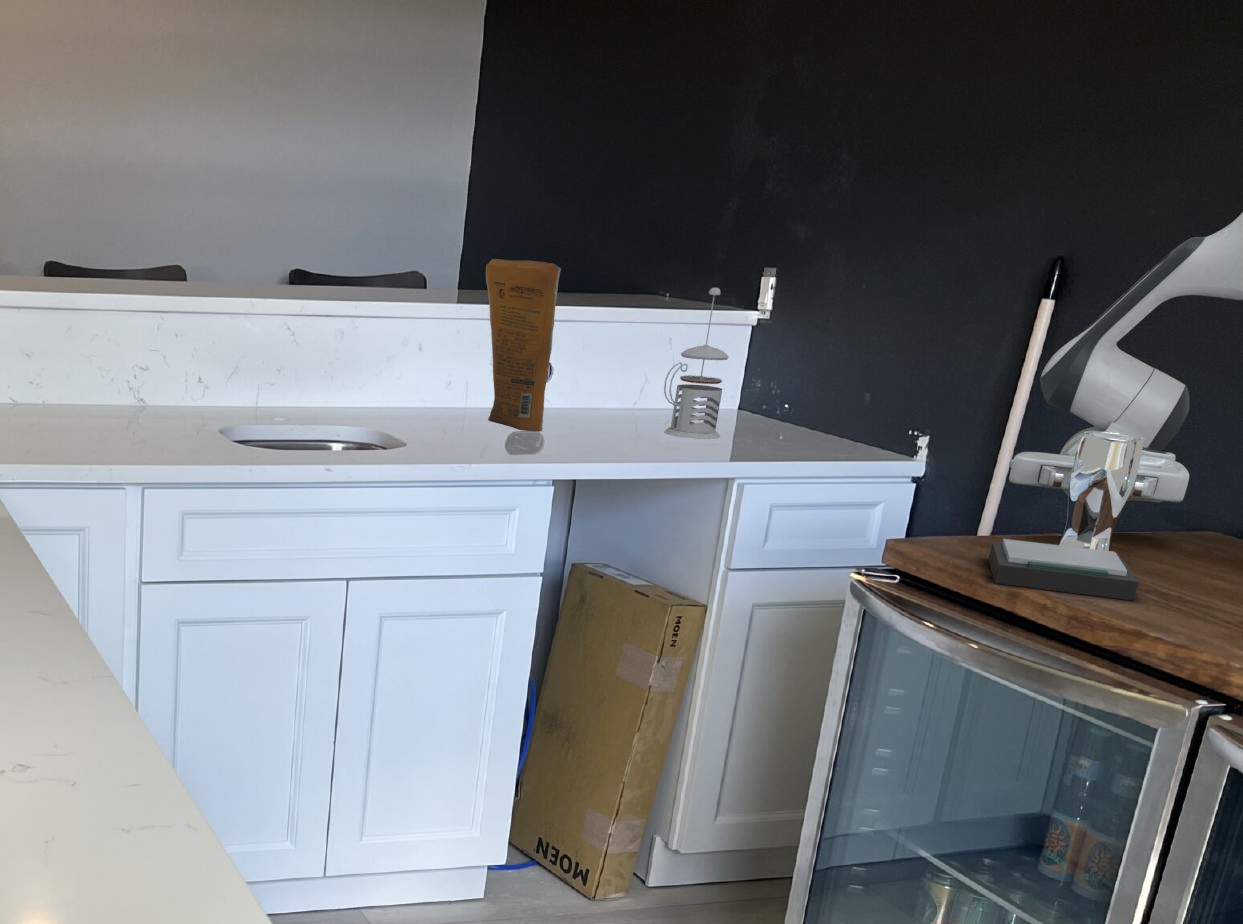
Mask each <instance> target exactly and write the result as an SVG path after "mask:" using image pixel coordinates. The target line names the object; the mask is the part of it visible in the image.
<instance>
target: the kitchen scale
mask: <svg viewBox="0 0 1243 924" xmlns="http://www.w3.org/2000/svg"><path fill="white" fill-rule="evenodd" d="M988 565H989V568H990V572H991V574H992V579H993V582H994V584H999V585H1006V586H1007V585H1008V586H1015V587H1022V588H1030V589H1038V590H1045V591H1053V592H1062V593H1068V594H1069V593H1071V594H1078V595H1085V596H1092V597H1100V598H1101V597H1102V598H1109V599H1117V600H1124V601H1132V602H1133V601H1134V598H1135V594H1136V591H1137V587H1138V585H1139V580H1138V579H1137V578H1136V576H1135V574H1134V572H1133V571H1132V570H1131V569H1130V567H1129V565H1128V563H1127V562H1126V561H1125V559H1124V558H1123V557H1120V556H1119V555H1118V554H1117V553H1116V551H1111V550H1110V551H1103V550H1095V549H1086V548H1078V547H1069V546H1061V545H1058V544H1051V543H1042V542H1035V541H1034V542H1033V541H1025V540H1017V539H1009V538H1002V543H1001V542H992V543H991V547H990V551H989V555H988Z"/></svg>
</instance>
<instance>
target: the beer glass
mask: <svg viewBox="0 0 1243 924" xmlns="http://www.w3.org/2000/svg"><path fill="white" fill-rule="evenodd" d="M1143 443H1144V438H1142V437H1138V436H1134V435H1129V434H1122V433H1113V432H1101V431H1087V432H1083V435H1082V439H1081V441H1080V444H1079V447H1078V450H1077V453H1076V456H1075V459H1074V463H1073V466H1072V471H1071V475H1070V482H1069V492H1068V495H1067V511H1066V520H1065V525H1064V529H1063V532H1062V535H1061V537H1060V539H1059V541H1058V543H1057V545H1061V546H1069V547H1078V548H1086V549H1095V550H1103V551H1111V549H1112V548H1111V547H1112V538H1113V534H1114V531H1115V528H1116V526H1117V523H1118V520H1119V519H1120V517H1121V515H1122V512H1123V510H1124V508H1125V506H1126V505H1127V502H1128V501H1127V500H1128V498H1129V496H1130V493H1131V491H1132V488H1133V486H1134V483H1135V480H1136V476H1137V473H1138V469H1139V464H1140V459H1141V454H1142V448H1143Z"/></svg>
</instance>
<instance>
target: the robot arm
mask: <svg viewBox="0 0 1243 924" xmlns="http://www.w3.org/2000/svg"><path fill="white" fill-rule="evenodd" d="M1183 296H1203V297H1213V298H1221V299H1227V300H1234V301H1243V211H1241V213H1240V214H1239V216H1238V217H1236V219H1234V220H1233V221H1231V223H1229V224H1227V225H1226V226H1225V227H1223V228H1222V229H1220V230H1218V231H1216V232H1215V233H1213V234H1210V235H1207V236H1193V237H1190V238H1188V239H1187V240H1185V241H1184V242H1182V243H1180V244H1179V245H1178V246H1176V247H1175V248H1173V250H1171V251H1170V252H1169V253H1167V254H1166V255H1165V256H1164V257H1163V258H1162V259H1161V260H1159V262H1157V263H1156V264H1155V265H1154V266H1153V267H1152V268H1151V269H1149V270H1148V271H1147V272H1146V273H1145V274H1143V276H1142V277H1141V278H1139V280H1137V281H1136V282H1135V283H1134V284H1133V285H1132V286H1131V287H1130V288H1128V290H1127V291H1125V292H1124V293H1123V294H1122V295H1121V296H1120V297H1119V298H1118V299H1117V300H1116V301H1115V302H1114V303H1112V304H1111V305H1110V306H1109V307H1108V308H1107V309H1106V310H1104V312H1103V313H1101V315H1099V316H1098V318H1097V319H1095V320H1094V321H1093V322H1092V323H1091V324H1089V326H1087V327H1086V328H1085V329H1083V331H1081V332H1080V333H1079V334H1078V335H1077V336H1075V337H1074V338H1073V339H1071V340H1069V341H1068V342H1067V343H1065V344H1064V345H1063V346H1061V347H1060V348H1059V349H1058V350H1056V352H1054V354H1053V355H1052V356H1051V358H1049V360H1048V361H1047V362H1046V364H1045V366H1044V368H1043V370H1042V372H1041V375H1040V376H1039V383H1040V388H1041V392H1042V395H1043V398H1044V400H1045V402H1046V404H1048V405H1050V406H1052V407H1055V408H1057V409H1060V410H1062V411H1064V412H1066V413H1068V414H1073V415H1074V416H1076V417H1078V418H1080V419H1082V420H1084V421H1085V422H1087V423H1089V424H1091V425H1093V426H1091V427H1088V428H1085V429H1082V430H1080V431H1078V432H1076V433H1075V434H1074V435H1073V436H1071V437H1070V438H1069V439H1068V440H1067V441H1066V442H1065V444H1064V445H1063V447H1062V449H1061V450H1060V453H1059V454H1058V453H1049V452H1041V451H1040V452H1039V451H1021V452H1019V453H1017V454H1016V455H1015V456H1014V457H1013V458H1012V459H1010V461H1009V464H1008V465H1009V467H1010V473H1009V477H1008V482H1010V483H1011V484H1016V485H1019V486H1020V485H1021V486H1028V487H1029V486H1030V487H1038V488H1047V489H1056V490H1062V491H1063V492H1064V494H1066V495H1067V496H1068V492H1069V482H1070V475H1071V471H1072V466H1073V463H1074V459H1075V456H1076V453H1077V450H1078V447H1079V444H1080V441H1081V439H1082V435H1083V432H1087V431H1101V432H1113V433H1122V434H1129V435H1134V436H1138V437H1142V438H1144V443H1143V448H1142V454H1141V459H1140V464H1139V469H1138V473H1137V476H1136V480H1135V483H1134V486H1133V488H1132V491H1131V493H1130V496H1129V498H1128V500H1127V502H1131V503H1132V502H1133V503H1134V502H1135V503H1155V504H1156V503H1157V504H1159V503H1162V502H1168V503H1176V504H1177V503H1181V502H1182V501H1184V498H1185V495H1186V492H1187V489H1188V485H1189V481H1190V473H1189V470H1188V469H1187V468H1186V467H1185V465H1183V464H1182V463H1180V462H1178V461H1177V460H1176V454H1174V453H1173V452H1167V451H1163V450H1164V449H1165V448H1166V447H1167V446H1168V445H1169V444H1170V442H1171V441H1172V440H1173V438H1174V437H1175V436H1176V435H1177V434H1178V432H1179V431H1180V429H1181V427H1182V426H1183V425H1184V422H1185V420H1186V418H1187V416H1188V413H1189V411H1190V393H1189V389H1188V386H1187V385H1186V384H1184V383H1183V382H1181V381H1180V380H1177V379H1176V378H1174V377H1172V376H1170V375H1169V374H1167V373H1165V372H1163V371H1161V370H1159V369H1158V368H1156V367H1152V365H1151V366H1150V365H1148V364H1147V363H1145V362H1144V361H1141V360H1140V359H1138V358H1136V357H1134V356H1133V355H1130V354H1128V353H1126V352H1125V351H1124V350H1121V349H1120V348H1119V347H1118V345H1117V343H1119V341H1120V340H1121V339H1123V338H1124V337H1125V336H1126V335H1127V334H1128V333H1129V332H1130V331H1132V329H1134V328H1135V327H1136V326H1137V325H1138V324H1139V323H1140V322H1141V321H1142V320H1143V319H1145V318H1146V317H1147V316H1148V315H1149V314H1150V313H1152V311H1154V310H1155V309H1156V308H1157V307H1158V306H1159V305H1161V304H1162V303H1164V302H1165V301H1168V300H1170V299H1173V298H1176V297H1183Z"/></svg>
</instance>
